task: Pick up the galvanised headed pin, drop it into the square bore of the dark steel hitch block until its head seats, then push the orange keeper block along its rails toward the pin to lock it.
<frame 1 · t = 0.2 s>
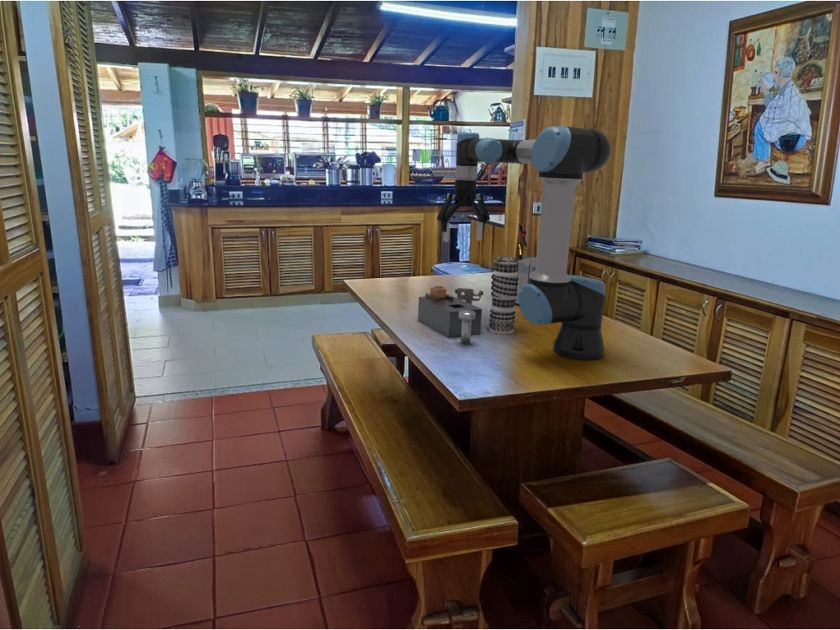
hand: (462, 241, 206), 28 cm above the table, fingers open, 13 cm apart
pin: (465, 343, 182), on the table
keeper: (438, 291, 204), point 11 cm above the table, slide at 0.0 cm
hitch block: (448, 326, 199), on the table
mechanical component: (467, 316, 214), on the table
decorative candle: (501, 331, 198), on the table
milk carton: (525, 306, 234), on the table
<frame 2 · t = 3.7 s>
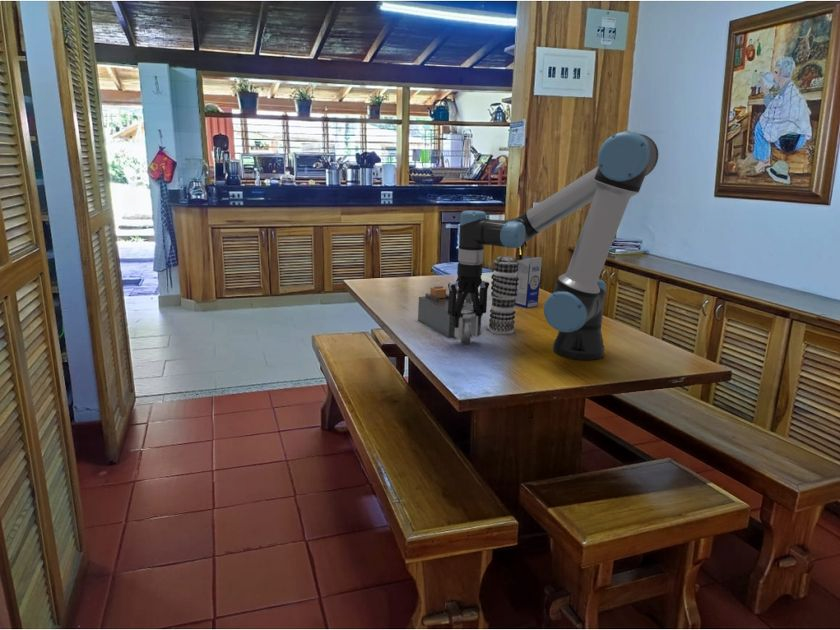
hand: (465, 336, 182), 2 cm above the table, fingers closed on pin, 5 cm apart
pin: (465, 343, 182), on the table, touching gripper
everything else where it was.
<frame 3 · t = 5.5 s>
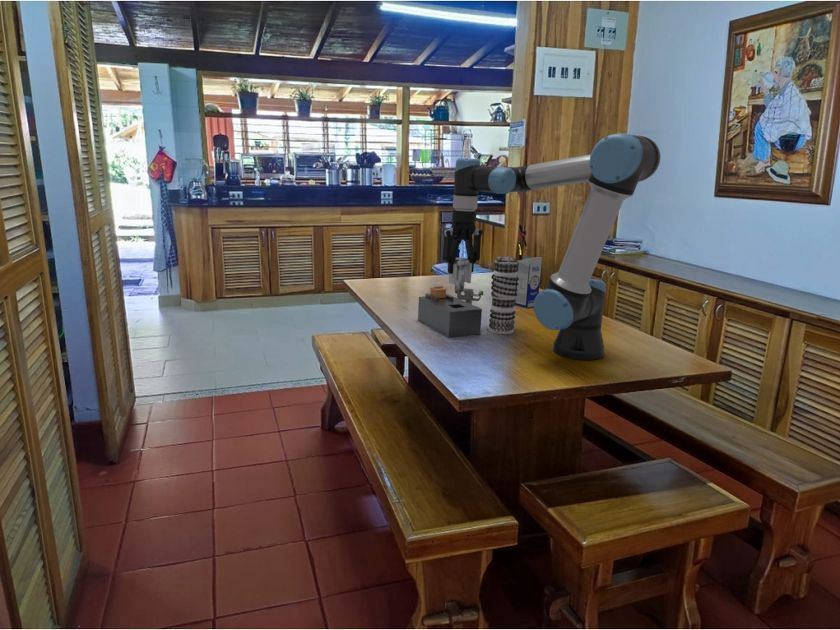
hand: (459, 282, 187), 17 cm above the table, fingers closed on pin, 5 cm apart
pin: (459, 289, 188), point 15 cm above the table, touching gripper
everything else where it was.
when the fingers open (10 cm above the table, at t = 7.3 s): pin drops 7 cm, resting on hitch block.
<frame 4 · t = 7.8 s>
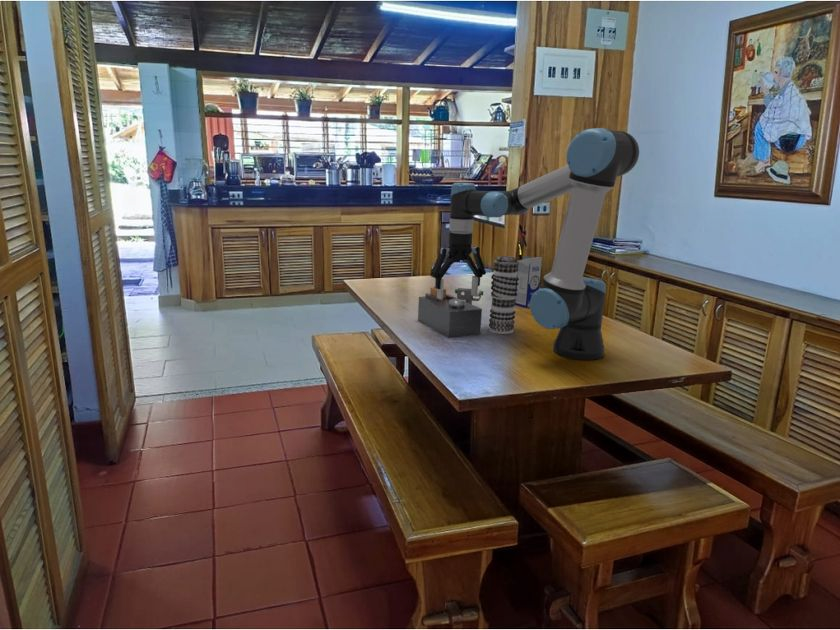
hand: (457, 297, 192), 12 cm above the table, fingers open, 12 cm apart
pin: (455, 329, 195), resting on hitch block
everything else where it was.
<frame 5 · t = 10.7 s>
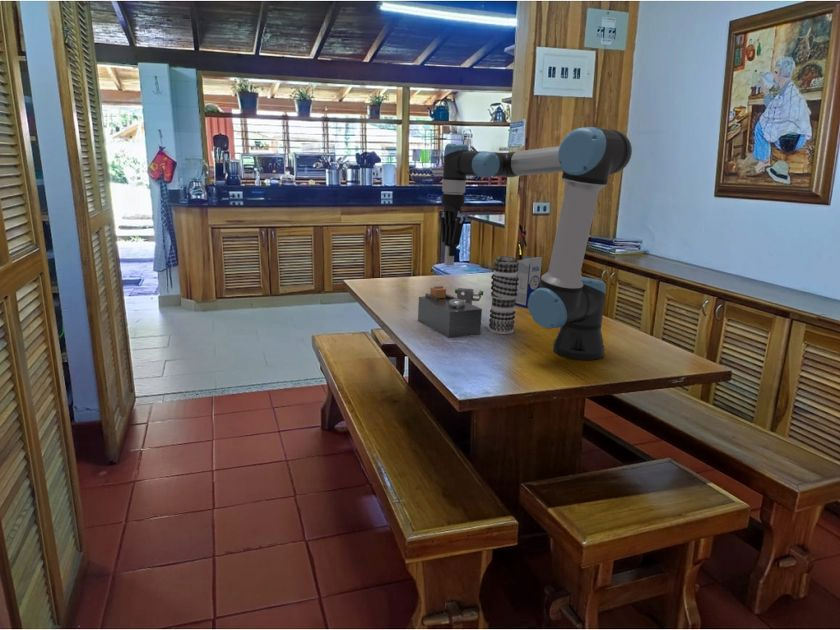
hand: (448, 265, 195), 21 cm above the table, fingers closed
nothing on the table moved.
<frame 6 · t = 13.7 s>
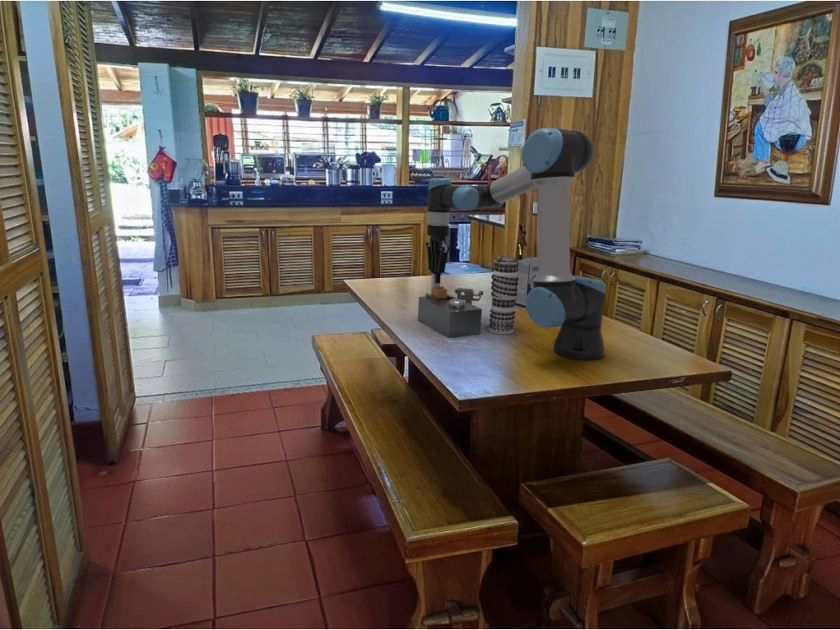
hand: (435, 291, 206), 10 cm above the table, fingers closed
keeper: (439, 292, 203), point 11 cm above the table, slide at 0.7 cm, touching gripper
everything else where it was.
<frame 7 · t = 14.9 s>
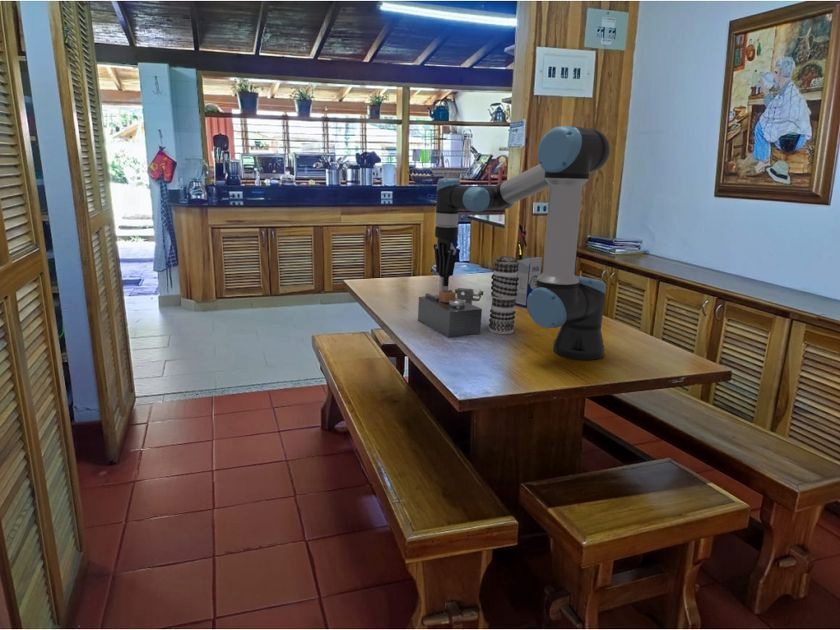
hand: (443, 294, 201), 10 cm above the table, fingers closed
keeper: (447, 295, 198), point 11 cm above the table, slide at 6.4 cm, touching gripper
everything else where it was.
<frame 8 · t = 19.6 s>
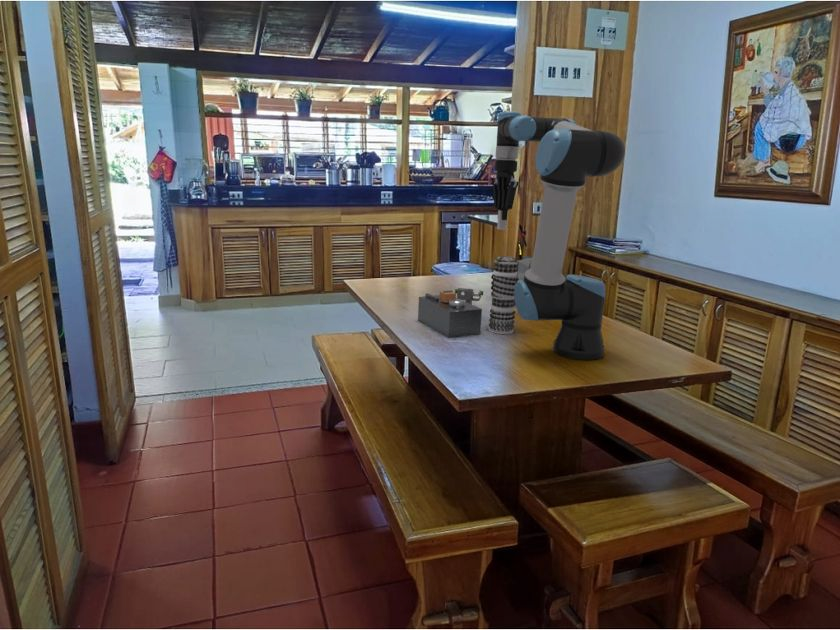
hand: (501, 229, 204), 32 cm above the table, fingers closed
keeper: (447, 295, 198), point 11 cm above the table, slide at 6.7 cm
everything else where it was.
at the end: pin 0.0 cm from the target spot on the hitch block, point 0.3 cm above the hitch block's base; pin tilted 0°; keeper slide at 6.7 cm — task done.
